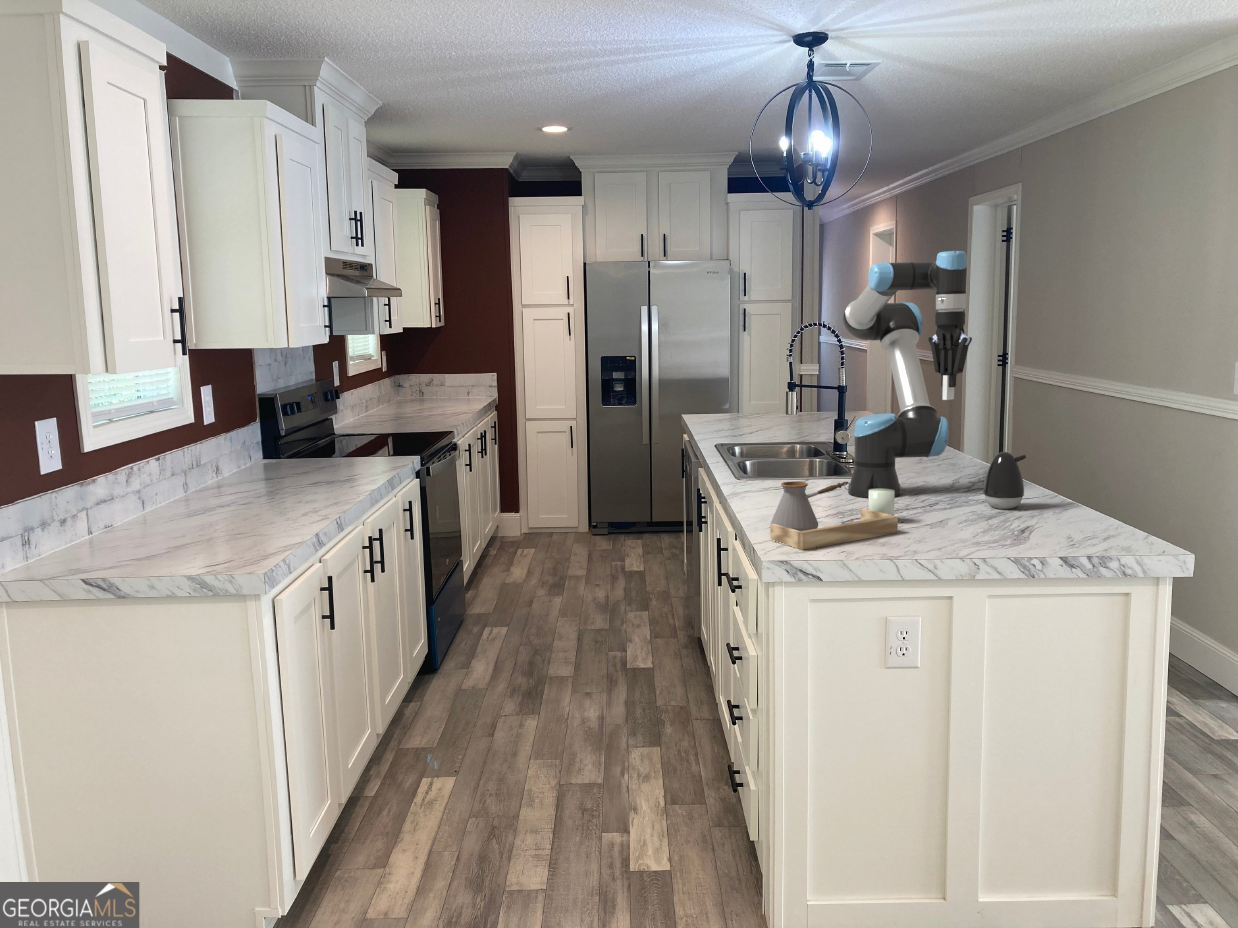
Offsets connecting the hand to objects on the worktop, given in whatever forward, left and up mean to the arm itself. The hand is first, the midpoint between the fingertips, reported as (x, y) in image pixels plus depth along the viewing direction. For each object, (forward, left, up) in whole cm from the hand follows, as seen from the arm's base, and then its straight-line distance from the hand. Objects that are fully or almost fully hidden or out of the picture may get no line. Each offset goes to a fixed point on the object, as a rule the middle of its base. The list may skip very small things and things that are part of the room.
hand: (948, 399), depth 251 cm
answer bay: (+9, -48, -29) cm, 57 cm away
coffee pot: (+7, -54, -30) cm, 62 cm away
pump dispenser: (+10, +11, -30) cm, 33 cm away
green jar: (+3, -27, -30) cm, 40 cm away
